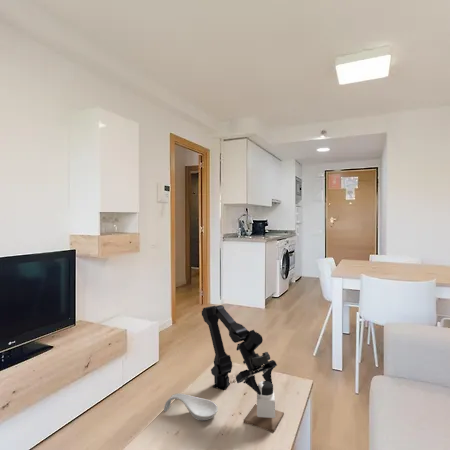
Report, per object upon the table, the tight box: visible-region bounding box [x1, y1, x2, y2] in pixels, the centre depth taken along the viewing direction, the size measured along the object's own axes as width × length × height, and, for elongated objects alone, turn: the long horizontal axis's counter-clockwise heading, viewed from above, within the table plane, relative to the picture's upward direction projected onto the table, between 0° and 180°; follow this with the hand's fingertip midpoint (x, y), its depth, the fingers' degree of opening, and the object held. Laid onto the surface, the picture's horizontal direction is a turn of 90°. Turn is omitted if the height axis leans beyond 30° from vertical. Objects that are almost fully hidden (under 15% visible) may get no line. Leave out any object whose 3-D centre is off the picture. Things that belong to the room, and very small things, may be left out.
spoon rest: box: [163, 393, 219, 421], centre depth 135 cm, size 24×12×7 cm, turn 73°
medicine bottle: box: [256, 380, 276, 418], centre depth 129 cm, size 7×7×12 cm
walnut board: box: [243, 403, 285, 433], centre depth 131 cm, size 13×12×1 cm
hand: (266, 391), depth 129 cm, fingers closed on medicine bottle, 6 cm apart
